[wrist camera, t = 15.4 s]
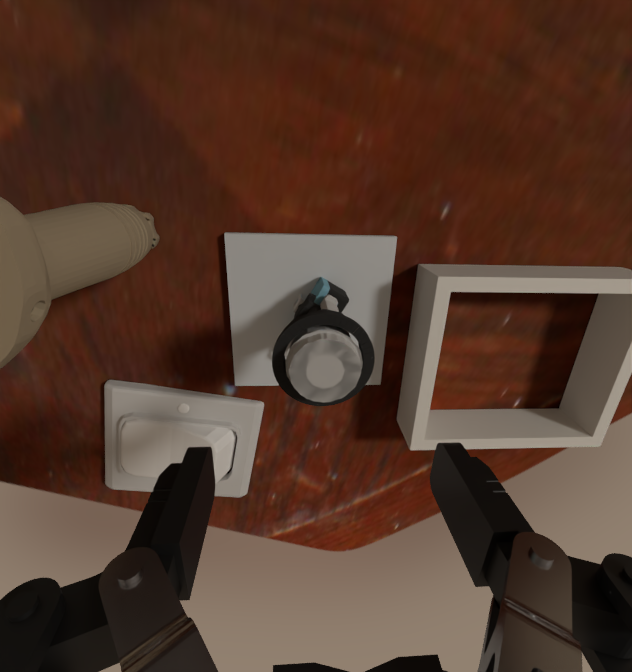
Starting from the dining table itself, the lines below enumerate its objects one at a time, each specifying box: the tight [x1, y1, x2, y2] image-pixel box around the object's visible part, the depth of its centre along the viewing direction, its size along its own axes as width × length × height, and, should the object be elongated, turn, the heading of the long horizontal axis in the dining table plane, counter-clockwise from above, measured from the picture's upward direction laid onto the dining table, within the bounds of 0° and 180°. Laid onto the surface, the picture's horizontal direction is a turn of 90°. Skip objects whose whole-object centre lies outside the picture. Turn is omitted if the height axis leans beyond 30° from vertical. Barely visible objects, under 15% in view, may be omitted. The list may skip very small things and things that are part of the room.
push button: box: [272, 277, 375, 406], centre depth 22 cm, size 7×5×10 cm
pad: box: [224, 232, 397, 386], centre depth 27 cm, size 12×12×1 cm
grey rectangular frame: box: [397, 264, 632, 450], centre depth 28 cm, size 16×14×4 cm
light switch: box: [104, 380, 264, 497], centre depth 30 cm, size 11×4×13 cm
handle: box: [0, 197, 159, 368], centre depth 17 cm, size 5×6×15 cm
